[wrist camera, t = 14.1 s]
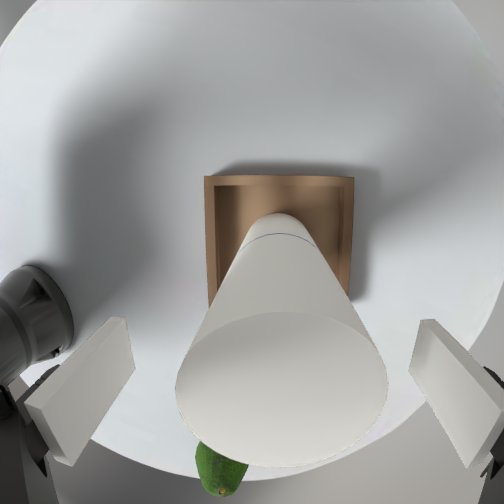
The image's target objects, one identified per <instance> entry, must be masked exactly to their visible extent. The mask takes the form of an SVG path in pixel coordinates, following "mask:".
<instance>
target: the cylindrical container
mask: <svg viewBox="0 0 504 504" xmlns="http://www.w3.org/2000/svg"><path fill="white" fill-rule="evenodd" d="M175 391H176V401H177V405H178V408H179V411H180V413H181V416H182V418H183V420H184V421H185V423H186V424H187V426H188V427H189V429H190V430H191V432H192V433H193V434H194V435H195V436H196V437H197V438H198V439H199V440H201V441H202V442H203V443H204V444H205V445H207V446H208V447H210V448H211V449H213V450H214V451H216V452H217V453H219V454H221V455H223V456H225V457H228V458H230V459H232V460H235V461H238V462H241V463H245V464H249V465H254V466H260V467H271V468H287V467H298V466H304V465H308V464H313V463H317V462H320V461H322V460H325V459H328V458H330V457H333V456H335V455H337V454H339V453H341V452H343V451H344V450H346V449H348V448H349V447H351V446H352V445H354V444H355V443H356V442H357V441H359V440H360V439H361V438H362V437H363V436H364V435H365V434H366V433H367V432H368V431H369V430H370V429H371V428H372V427H373V425H374V424H375V422H376V421H377V419H378V418H379V416H380V415H381V412H382V410H383V407H384V405H385V402H386V399H387V391H388V378H387V371H386V367H385V365H384V362H383V360H382V358H381V356H380V354H379V352H378V350H377V348H376V346H375V345H374V343H373V341H372V339H371V337H370V335H369V334H368V332H367V330H366V328H365V327H364V325H363V323H362V321H361V319H360V318H359V316H358V314H357V312H356V311H355V309H354V307H353V305H352V304H351V302H350V300H349V299H348V297H347V295H346V293H345V292H344V290H343V288H342V287H341V285H340V283H339V282H338V280H337V278H336V277H335V275H334V273H333V272H332V270H331V268H330V267H329V265H328V263H327V262H326V260H325V258H324V257H323V255H322V253H321V252H320V250H319V249H318V247H317V245H316V244H315V242H314V241H313V239H312V237H311V236H310V234H309V233H308V231H307V229H306V228H305V226H304V225H303V224H302V223H301V222H300V221H299V220H297V219H296V218H294V217H292V216H290V215H287V214H282V213H274V214H269V215H266V216H263V217H262V218H260V219H258V220H257V221H256V222H255V223H254V224H253V225H252V226H251V228H250V229H249V231H248V233H247V235H246V237H245V239H244V241H243V243H242V245H241V247H240V249H239V251H238V252H237V254H236V256H235V258H234V260H233V262H232V264H231V266H230V268H229V270H228V272H227V274H226V276H225V278H224V280H223V282H222V284H221V286H220V288H219V290H218V292H217V294H216V296H215V298H214V300H213V302H212V304H211V306H210V308H209V310H208V312H207V314H206V316H205V318H204V320H203V322H202V324H201V326H200V328H199V330H198V332H197V334H196V336H195V338H194V340H193V342H192V344H191V346H190V348H189V350H188V352H187V354H186V356H185V358H184V360H183V363H182V365H181V367H180V369H179V371H178V375H177V380H176V386H175Z"/></svg>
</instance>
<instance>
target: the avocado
mask: <svg viewBox="0 0 504 504" xmlns="http://www.w3.org/2000/svg"><path fill="white" fill-rule="evenodd" d="M195 459H196V464H197V469H198V473H199V476H200V479H201V482H202V484H203V486H204V488H205V489H206V490H207V491H208V492H209V493H211V494H213V495H215V496H221V497H225V496H228V495H232V494H233V493H234V492H235V491H236V490H237V488H238V486H239V484H240V482H241V481H242V479H243V477H244V475H245V473H246V471H247V468H248V465H249V464H245V463H241V462H238V461H235V460H232V459H230V458H228V457H225V456H223V455H221V454H219V453H217V452H216V451H214V450H213V449H211V448H210V447H208V446H207V445H205V444H204V443H203V442H202V441H200V442H199V444H198V446H197V450H196V455H195Z"/></svg>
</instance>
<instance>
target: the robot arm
mask: <svg viewBox="0 0 504 504" xmlns="http://www.w3.org/2000/svg"><path fill="white" fill-rule="evenodd" d="M72 337H73V321H72V316H71V312H70V309H69V306H68V304H67V302H66V299H65V297H64V295H63V294H62V292H61V290H60V289H59V287H58V286H57V285H56V283H55V282H54V281H53V280H52V279H51V278H50V277H49V276H48V275H47V274H46V273H45V272H43V271H42V270H40V269H38V268H36V267H33V266H22V267H20V268H18V269H16V270H13V271H12V272H10V273H9V274H8V275H7V276H6V277H5V278H4V279H3V281H2V282H1V283H0V504H59V502H58V499H57V495H56V491H55V488H54V484H53V480H52V476H51V471H50V467H49V462H48V460H47V458H46V456H45V455H46V453H47V452H48V450H50V452H51V453H52V455H53V457H54V458H55V460H57V461H59V462H62V463H64V464H66V465H69V466H73V465H74V463H75V462H76V460H77V458H78V457H79V455H80V454H81V452H82V451H83V449H84V447H85V446H86V444H87V442H88V441H89V439H90V438H91V436H92V435H93V433H94V432H95V430H96V428H97V427H98V425H99V424H100V422H101V421H102V419H103V417H104V416H105V414H106V413H107V411H108V410H109V408H110V407H111V405H112V404H113V402H114V400H115V399H116V397H117V396H118V394H119V393H120V391H121V390H122V388H123V387H124V385H125V384H126V382H127V381H128V379H129V378H130V376H131V375H132V373H133V372H134V370H135V369H136V368H135V364H134V359H133V354H132V350H131V345H130V340H129V334H128V329H127V323H126V318H122V317H112V316H111V317H110V318H109V319H108V320H107V321H106V322H105V323H104V324H102V325H101V326H100V327H99V328H98V329H97V330H96V331H95V332H94V333H93V334H92V335H91V336H90V337H89V338H88V339H87V340H86V341H85V342H84V343H83V344H82V345H80V346H79V347H78V348H77V349H76V350H75V351H74V352H73V353H72V354H71V355H70V356H69V357H68V358H67V359H66V360H65V361H64V362H63V363H62V364H61V365H59V364H58V365H56V366H54V367H52V368H50V369H48V370H47V371H46V372H45V373H44V374H43V375H42V376H41V378H40V379H38V380H37V381H36V382H35V384H33V385H32V386H31V387H30V388H29V389H28V390H27V391H26V392H25V393H24V394H23V395H22V396H21V397H20V398H19V399H18V400H17V401H16V402H15V400H14V398H13V396H12V394H11V392H10V390H9V388H8V385H9V384H10V383H11V382H12V381H13V380H14V379H16V378H17V377H18V376H19V375H20V374H21V373H22V372H23V371H24V370H25V369H27V368H28V367H29V366H30V365H33V364H36V363H40V362H43V361H46V360H50V359H53V358H56V357H58V356H59V355H60V354H61V353H63V352H64V351H65V350H66V349H67V348H68V347H69V345H70V344H71V341H72ZM408 371H409V373H410V374H411V376H412V377H413V379H414V381H415V382H416V384H417V385H418V387H419V388H420V390H421V392H422V393H423V395H424V397H425V398H426V400H427V401H428V403H429V405H430V406H431V408H432V410H433V411H434V413H435V415H436V416H437V418H438V420H439V421H440V423H441V425H442V426H443V428H444V430H445V432H446V433H447V435H448V437H449V439H450V440H451V442H452V444H453V446H454V447H455V449H456V451H457V453H458V455H459V456H460V458H461V460H462V462H463V464H464V465H465V467H466V469H468V468H471V467H473V466H475V465H478V464H480V463H482V462H483V461H484V459H485V458H486V456H487V455H488V454H489V452H491V454H492V455H493V458H492V460H491V461H490V463H489V464H488V465H487V467H486V468H485V470H484V471H483V472H482V474H481V476H480V477H483V476H484V475H485V473H486V472H487V476H486V479H485V483H484V486H483V490H482V493H481V497H480V500H479V503H478V504H504V382H503V381H501V379H500V378H499V377H498V375H497V374H496V373H495V372H493V371H492V370H490V369H488V368H486V367H482V366H481V365H480V364H479V363H478V362H477V361H476V360H475V359H474V358H473V357H472V356H471V355H470V353H468V351H467V350H466V349H465V348H464V347H463V346H462V345H461V344H460V343H459V342H458V341H457V340H456V339H455V338H454V337H453V336H452V335H451V334H450V333H449V332H447V331H446V330H445V329H444V328H443V327H442V326H441V325H440V324H439V323H438V322H437V321H436V320H435V319H425V320H420V325H419V330H418V334H417V338H416V343H415V347H414V351H413V355H412V358H411V362H410V366H409V369H408Z"/></svg>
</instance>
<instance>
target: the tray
mask: <svg viewBox="0 0 504 504" xmlns="http://www.w3.org/2000/svg"><path fill="white" fill-rule="evenodd" d="M204 198H205V234H206V260H207V282H208V300H209V308H210V306H211V304H212V302H213V300H214V298H215V296H216V294H217V292H218V290H219V288H220V286H221V284H222V282H223V280H224V278H225V276H226V274H227V272H228V270H229V268H230V266H231V264H232V262H233V260H234V258H235V256H236V254H237V252H238V251H239V249H240V247H241V245H242V243H243V241H244V239H245V237H246V235H247V233H248V231H249V229H250V228H251V226H252V225H253V224H254V223H255V222H256V221H257V220H258V219H260V218H262V217H263V216H266V215H269V214H274V213H282V214H287V215H290V216H292V217H294V218H296V219H297V220H299V221H300V222H301V223H302V224H303V225H304V226H305V228H306V229H307V231H308V233H309V234H310V236H311V237H312V239H313V241H314V242H315V244H316V245H317V247H318V249H319V250H320V252H321V253H322V255H323V257H324V258H325V260H326V262H327V263H328V265H329V267H330V268H331V270H332V272H333V273H334V275H335V277H336V278H337V280H338V282H339V283H340V285H341V287H342V288H343V290H344V292H345V293H346V295H347V296H348V285H349V274H350V261H351V247H352V229H353V205H354V177H334V176H304V175H222V176H204Z"/></svg>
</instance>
